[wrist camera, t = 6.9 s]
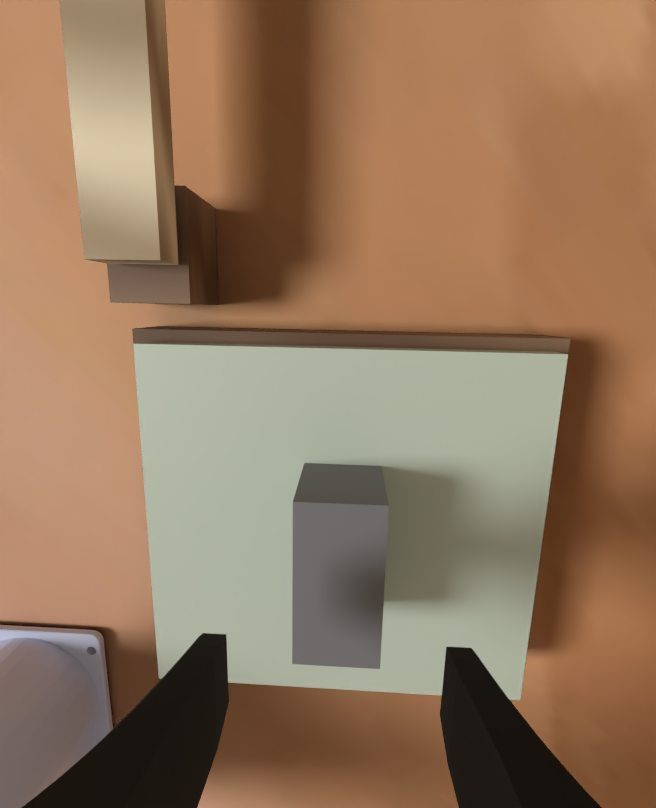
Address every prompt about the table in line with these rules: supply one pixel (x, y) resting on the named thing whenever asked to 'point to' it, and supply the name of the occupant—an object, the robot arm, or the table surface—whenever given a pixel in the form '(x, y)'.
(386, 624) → the lid
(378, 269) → the table surface
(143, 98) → the beige rectangular bar
